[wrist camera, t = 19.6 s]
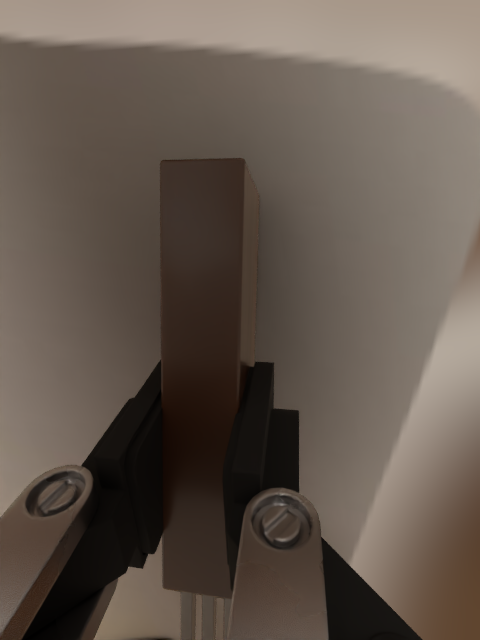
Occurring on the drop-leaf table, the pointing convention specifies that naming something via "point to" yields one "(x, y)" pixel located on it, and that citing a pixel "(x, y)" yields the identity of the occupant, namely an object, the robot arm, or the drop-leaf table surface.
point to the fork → (203, 366)
